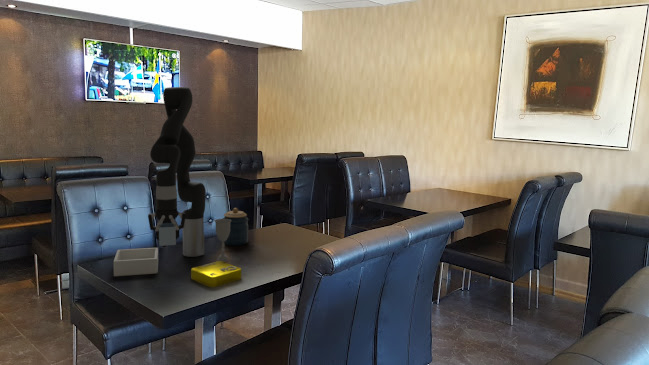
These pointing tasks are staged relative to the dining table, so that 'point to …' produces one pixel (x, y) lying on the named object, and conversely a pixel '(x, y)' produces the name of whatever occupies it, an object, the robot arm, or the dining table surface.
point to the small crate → (167, 234)
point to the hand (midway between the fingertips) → (167, 239)
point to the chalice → (223, 235)
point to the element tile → (216, 274)
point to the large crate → (136, 261)
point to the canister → (237, 227)
